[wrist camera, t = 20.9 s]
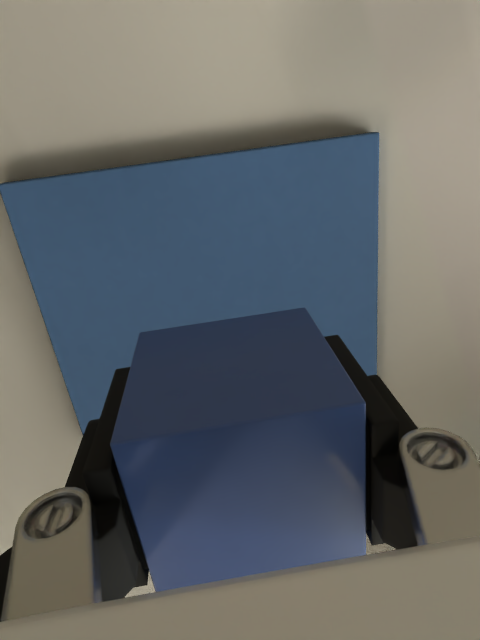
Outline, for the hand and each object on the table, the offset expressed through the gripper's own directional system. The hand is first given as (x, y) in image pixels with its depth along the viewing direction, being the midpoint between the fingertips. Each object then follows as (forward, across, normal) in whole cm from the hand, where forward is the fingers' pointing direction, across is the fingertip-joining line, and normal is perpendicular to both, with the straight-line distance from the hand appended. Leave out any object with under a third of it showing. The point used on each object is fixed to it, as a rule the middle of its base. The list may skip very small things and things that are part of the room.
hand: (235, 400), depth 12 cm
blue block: (+1, 0, 0) cm, 1 cm away
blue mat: (+7, 0, 0) cm, 7 cm away
